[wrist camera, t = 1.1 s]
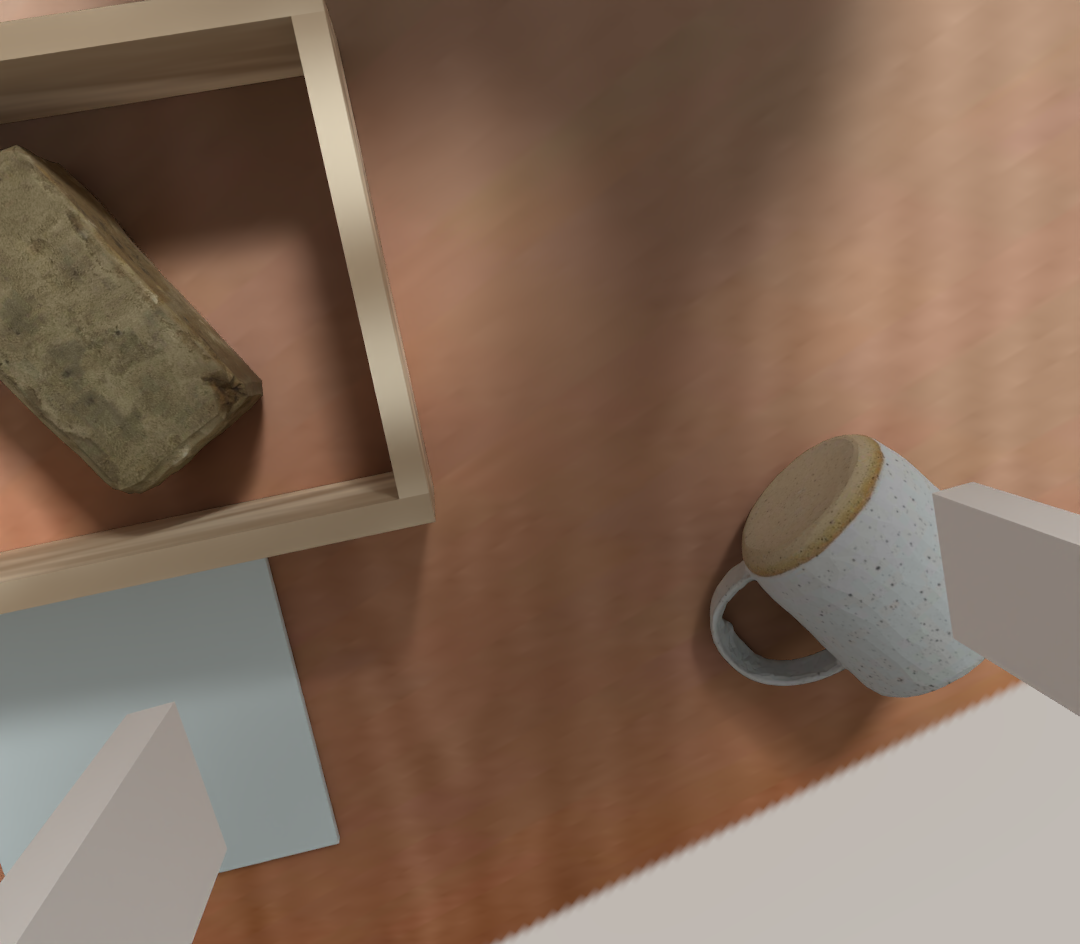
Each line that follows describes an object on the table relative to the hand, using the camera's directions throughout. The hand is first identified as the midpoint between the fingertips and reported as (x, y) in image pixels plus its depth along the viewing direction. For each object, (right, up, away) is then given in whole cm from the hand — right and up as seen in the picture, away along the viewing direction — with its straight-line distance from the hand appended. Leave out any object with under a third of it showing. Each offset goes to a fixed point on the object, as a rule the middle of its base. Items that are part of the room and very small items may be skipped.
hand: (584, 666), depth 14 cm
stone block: (-17, +9, +18) cm, 26 cm away
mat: (-17, -7, +20) cm, 27 cm away
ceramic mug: (+11, -1, +23) cm, 26 cm away
